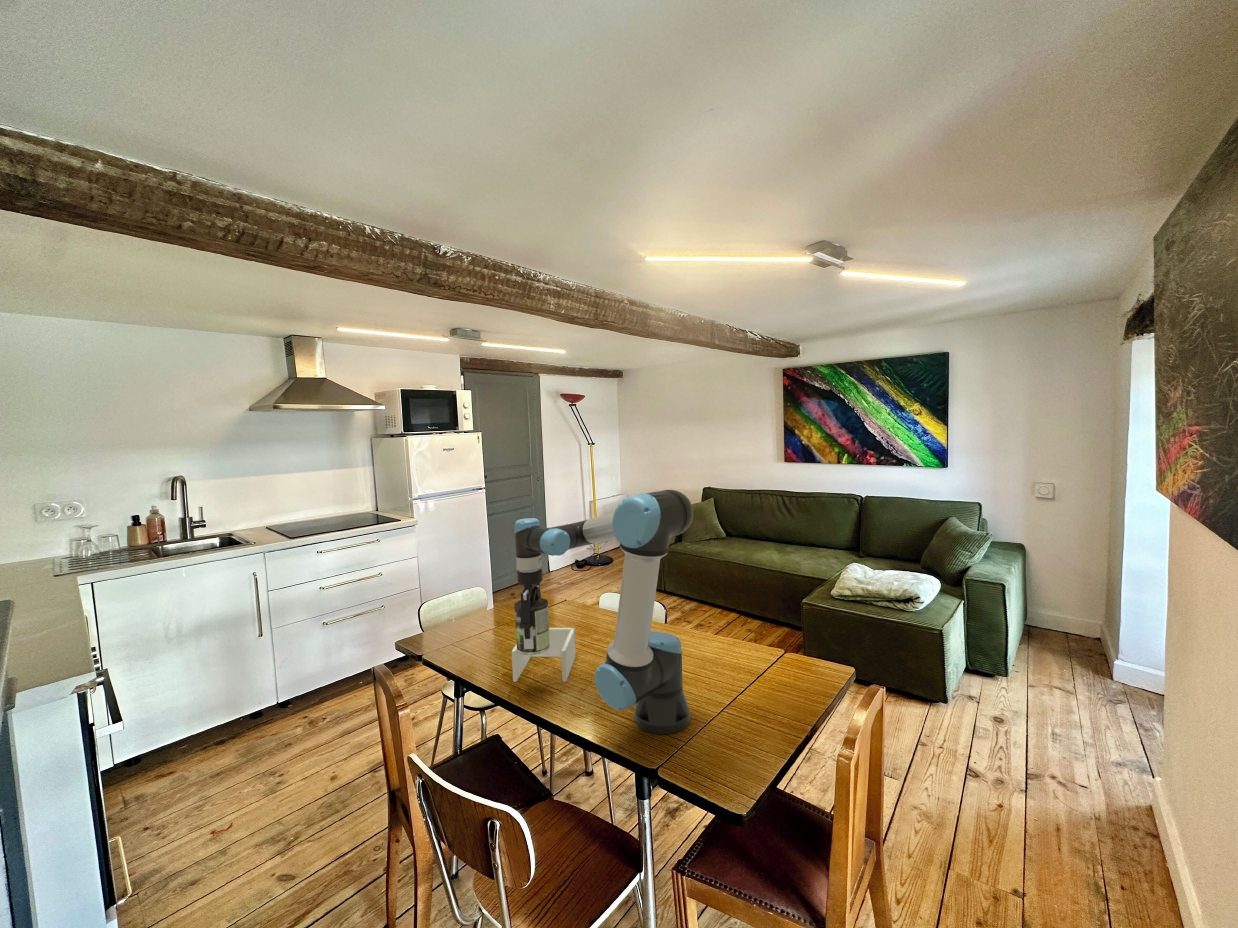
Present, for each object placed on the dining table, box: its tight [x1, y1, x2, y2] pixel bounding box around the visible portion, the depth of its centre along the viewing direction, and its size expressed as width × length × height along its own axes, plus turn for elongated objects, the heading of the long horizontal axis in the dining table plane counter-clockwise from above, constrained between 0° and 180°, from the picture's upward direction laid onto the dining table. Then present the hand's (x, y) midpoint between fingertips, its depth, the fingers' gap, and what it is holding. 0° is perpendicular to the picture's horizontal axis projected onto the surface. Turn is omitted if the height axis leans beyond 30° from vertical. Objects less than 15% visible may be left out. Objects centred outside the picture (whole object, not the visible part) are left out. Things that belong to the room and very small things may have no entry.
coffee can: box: [513, 597, 550, 655], centre depth 149 cm, size 10×10×14 cm
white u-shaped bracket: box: [511, 627, 577, 683], centre depth 166 cm, size 19×17×10 cm
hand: (533, 641), depth 149 cm, fingers closed on coffee can, 10 cm apart
